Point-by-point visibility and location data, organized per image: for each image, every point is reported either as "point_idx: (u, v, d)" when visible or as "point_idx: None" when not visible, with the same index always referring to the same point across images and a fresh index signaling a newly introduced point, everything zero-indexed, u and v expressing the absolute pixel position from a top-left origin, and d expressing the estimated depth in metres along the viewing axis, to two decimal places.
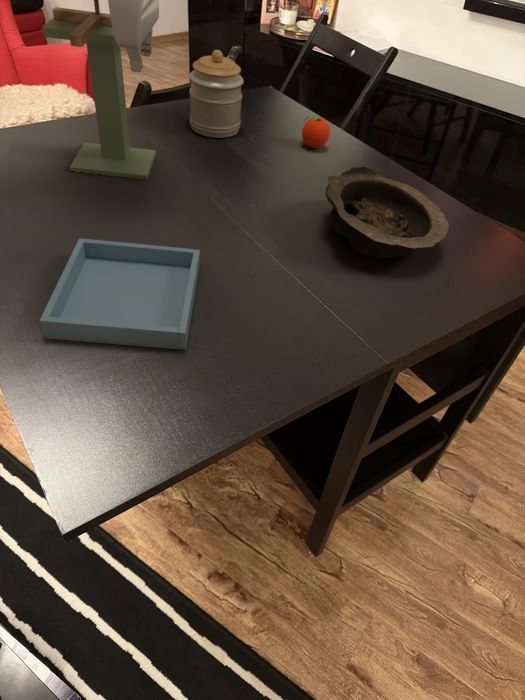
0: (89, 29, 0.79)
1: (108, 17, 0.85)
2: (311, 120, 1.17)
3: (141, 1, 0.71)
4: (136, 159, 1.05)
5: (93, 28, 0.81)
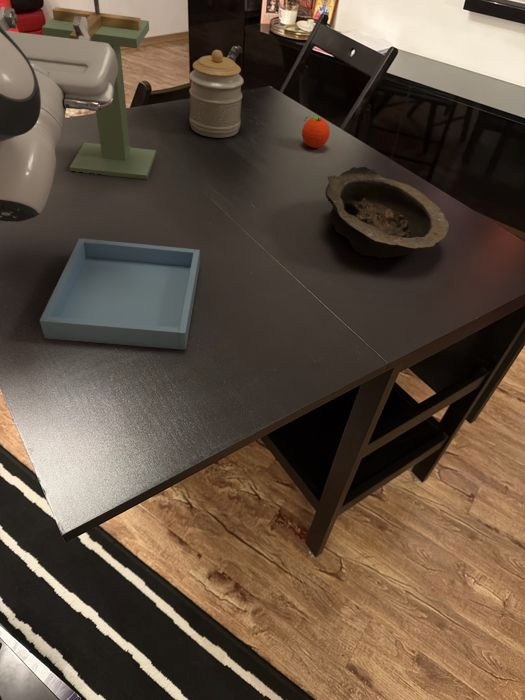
0: (89, 29, 0.79)
1: (108, 17, 0.85)
2: (311, 120, 1.17)
3: None
4: (136, 159, 1.05)
5: (93, 28, 0.81)
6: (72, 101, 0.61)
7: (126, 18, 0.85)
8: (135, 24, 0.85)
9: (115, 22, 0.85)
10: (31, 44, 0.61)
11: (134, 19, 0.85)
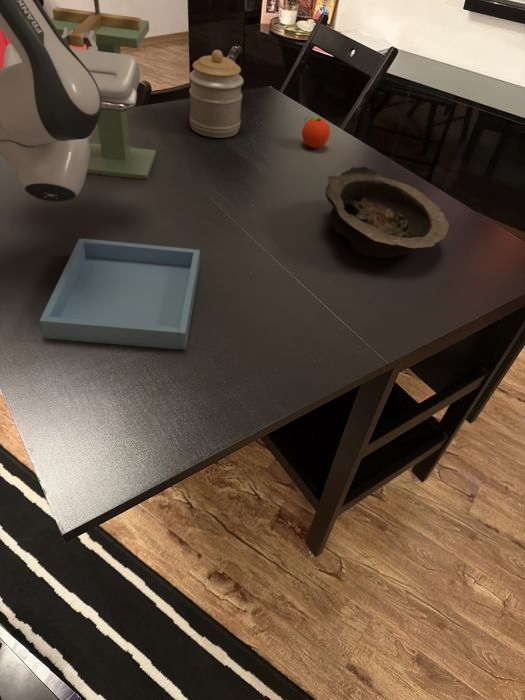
0: (89, 29, 0.79)
1: (108, 17, 0.85)
2: (311, 120, 1.17)
3: None
4: (136, 159, 1.05)
5: (93, 28, 0.81)
6: (103, 103, 0.75)
7: (126, 18, 0.85)
8: (135, 24, 0.85)
9: (115, 22, 0.85)
10: None
11: (134, 19, 0.85)
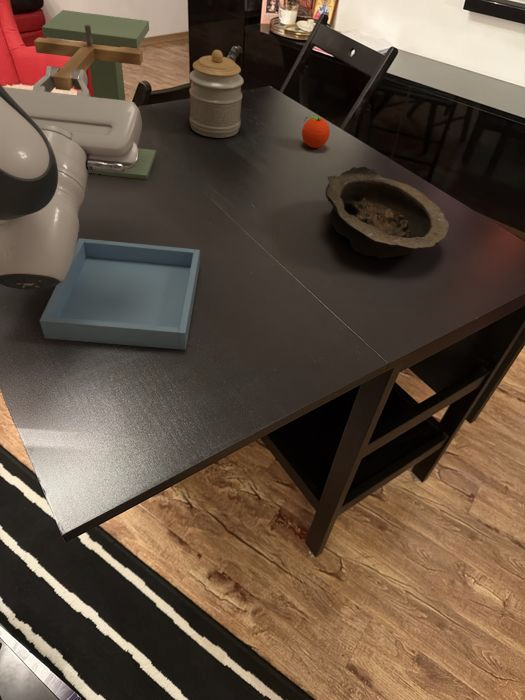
0: (79, 67, 0.64)
1: (103, 50, 0.69)
2: (311, 120, 1.17)
3: None
4: None
5: (84, 64, 0.66)
6: (96, 163, 0.59)
7: (125, 51, 0.70)
8: (136, 58, 0.70)
9: (111, 56, 0.70)
10: (53, 104, 0.59)
11: (135, 52, 0.70)
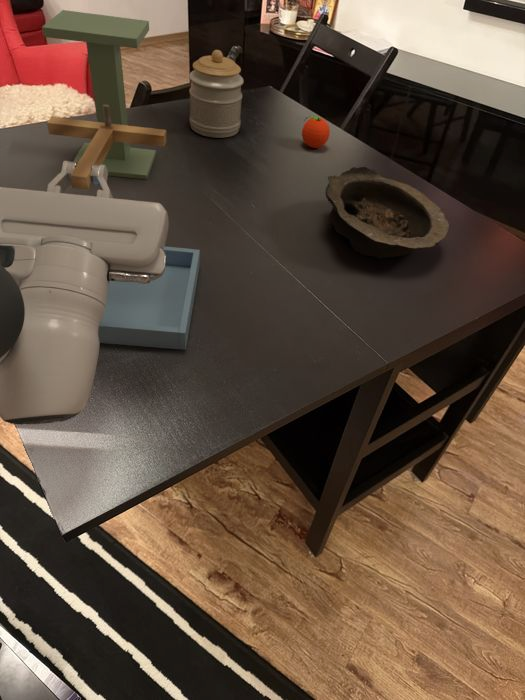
0: (98, 158, 0.57)
1: (123, 131, 0.62)
2: (311, 120, 1.17)
3: None
4: (136, 159, 1.05)
5: (103, 152, 0.59)
6: (118, 275, 0.52)
7: (147, 132, 0.63)
8: (159, 140, 0.63)
9: (132, 138, 0.63)
10: (71, 208, 0.52)
11: (158, 133, 0.63)
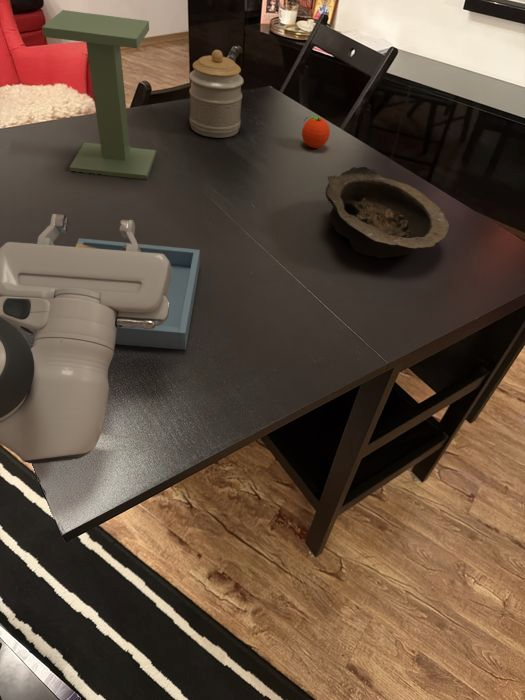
0: None
1: None
2: (311, 120, 1.17)
3: None
4: (136, 159, 1.05)
5: None
6: (125, 321, 0.57)
7: None
8: None
9: None
10: (81, 261, 0.57)
11: None
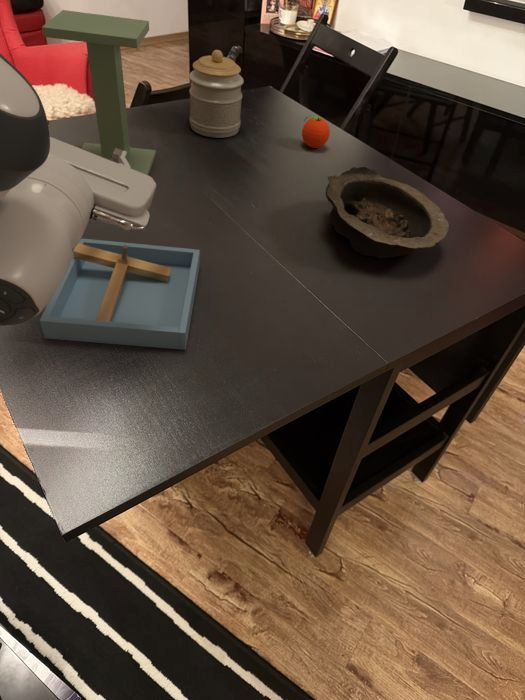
0: (115, 302, 0.72)
1: (136, 267, 0.77)
2: (311, 120, 1.17)
3: None
4: (136, 159, 1.05)
5: (119, 292, 0.73)
6: (103, 213, 0.52)
7: (155, 270, 0.77)
8: (164, 278, 0.78)
9: (142, 272, 0.77)
10: (67, 151, 0.54)
11: (164, 272, 0.78)
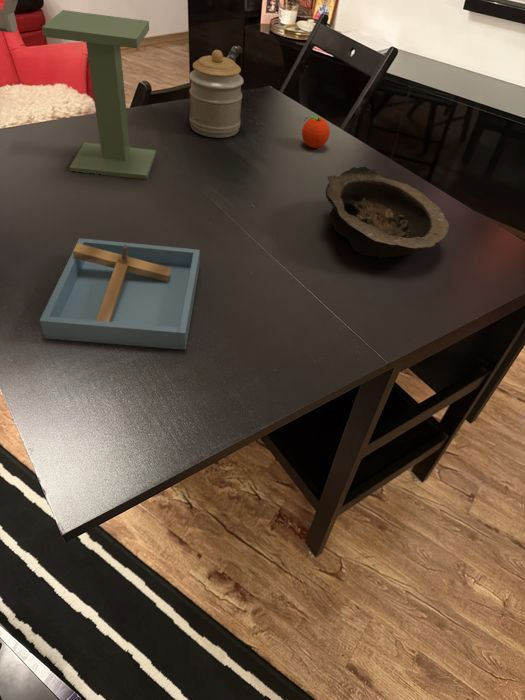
0: (115, 302, 0.72)
1: (136, 267, 0.77)
2: (311, 120, 1.17)
3: None
4: (136, 159, 1.05)
5: (119, 292, 0.73)
6: None
7: (155, 270, 0.77)
8: (164, 278, 0.78)
9: (142, 272, 0.77)
10: None
11: (164, 272, 0.78)
